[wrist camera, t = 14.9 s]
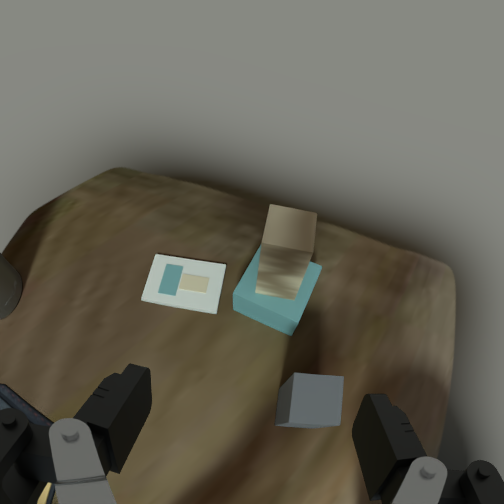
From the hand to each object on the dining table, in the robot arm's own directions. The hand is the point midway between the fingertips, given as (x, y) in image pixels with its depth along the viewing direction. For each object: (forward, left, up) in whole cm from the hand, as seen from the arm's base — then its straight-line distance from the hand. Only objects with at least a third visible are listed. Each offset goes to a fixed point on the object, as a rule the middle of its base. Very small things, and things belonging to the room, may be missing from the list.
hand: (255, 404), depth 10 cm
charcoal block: (+6, +2, -25) cm, 26 cm away
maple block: (+2, +16, -20) cm, 26 cm away
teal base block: (+2, +16, -25) cm, 30 cm away
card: (-10, +16, -25) cm, 32 cm away
